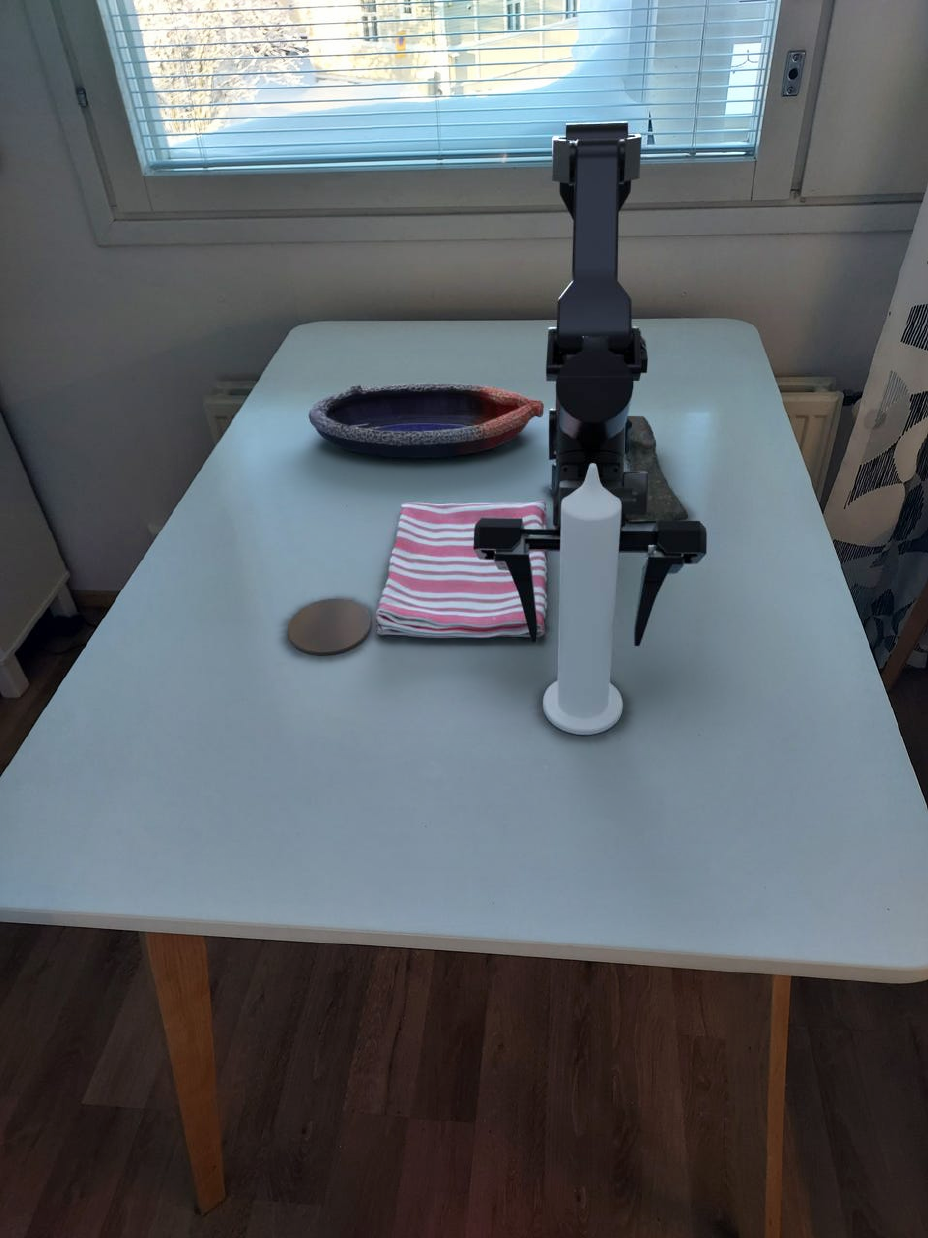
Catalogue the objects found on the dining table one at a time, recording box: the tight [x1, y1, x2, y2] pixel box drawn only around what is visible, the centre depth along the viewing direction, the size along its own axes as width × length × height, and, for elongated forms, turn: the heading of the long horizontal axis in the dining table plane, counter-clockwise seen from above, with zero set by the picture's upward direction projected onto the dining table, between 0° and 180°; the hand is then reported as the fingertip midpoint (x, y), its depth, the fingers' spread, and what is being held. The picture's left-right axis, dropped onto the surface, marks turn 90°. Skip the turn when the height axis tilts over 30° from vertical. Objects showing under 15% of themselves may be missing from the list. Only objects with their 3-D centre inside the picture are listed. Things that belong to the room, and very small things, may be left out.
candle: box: [542, 463, 624, 736], centre depth 75 cm, size 7×7×25 cm
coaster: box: [287, 598, 372, 656], centre depth 94 cm, size 8×8×1 cm
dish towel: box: [375, 500, 548, 639], centre depth 98 cm, size 17×23×4 cm
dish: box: [308, 382, 545, 459], centre depth 121 cm, size 16×31×5 cm, turn 84°
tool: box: [625, 415, 689, 523], centre depth 112 cm, size 21×8×3 cm, turn 1°
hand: (585, 644), depth 77 cm, fingers open, 8 cm apart
